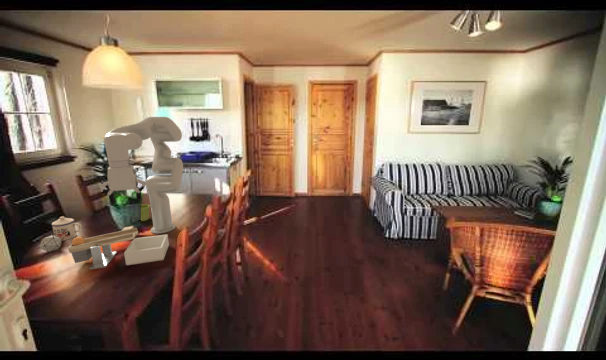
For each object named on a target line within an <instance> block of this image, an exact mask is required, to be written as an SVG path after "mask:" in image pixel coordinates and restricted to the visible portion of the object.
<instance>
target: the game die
mask: <svg viewBox="0 0 606 360" xmlns="http://www.w3.org/2000/svg"><path fill="white" fill-rule="evenodd" d="M63 239H64V238H63ZM63 239H60V238H58V237H56V236H55V235H54V233H51V235H48V236H46V237H40V240H41V241H40V243H39V247H37V248H36V249H37V250H38V249H39V250H40V249H41V250H43V251H44V252H47V254H48V255H50V253H51V252H53V251H56V250H58V249H59V250H61V244H62V240H63Z"/></svg>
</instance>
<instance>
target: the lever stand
mask: <svg viewBox="0 0 606 360" xmlns="http://www.w3.org/2000/svg"><path fill="white" fill-rule="evenodd" d="M111 245H112V244H109V245H104V246H100V245H98V246H91V248H90V249H91V254H92V257H91V259H92V264H91V265H90V266H89V267H88V269H89V270H90V271H91V270H96V269H105V268H107V267H108V265H109V264H110V263H111V261H112V260H113V258H114V257H115V256H116V255H117V251H116V250H115V251H113V250H112V246H111Z"/></svg>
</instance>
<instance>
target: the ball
mask: <svg viewBox="0 0 606 360" xmlns="http://www.w3.org/2000/svg"><path fill="white" fill-rule="evenodd" d="M84 239H85V238H83V237H81V236H75V237H74V238H72V239H71V240H72V241H71V244H73V245H74V246H76V245H81V244H83V243H84Z"/></svg>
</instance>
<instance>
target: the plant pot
mask: <svg viewBox="0 0 606 360" xmlns="http://www.w3.org/2000/svg"><path fill="white" fill-rule="evenodd" d="M140 205H141V221H140V222H146V221H148V220H149V217H150V215H149V213H150V212H149V211H150V208H151V205H150V204H140Z"/></svg>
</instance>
